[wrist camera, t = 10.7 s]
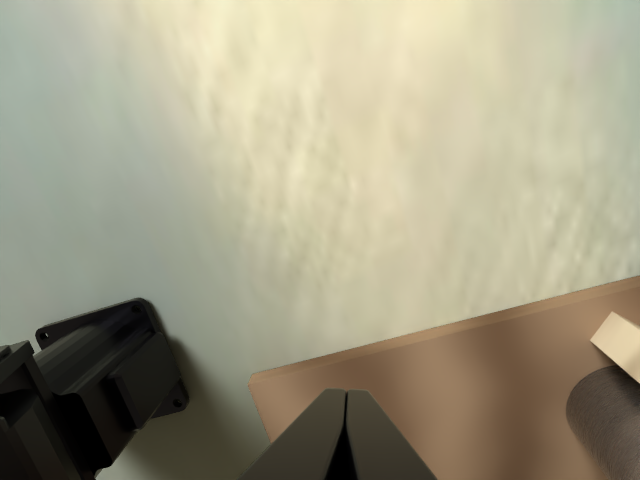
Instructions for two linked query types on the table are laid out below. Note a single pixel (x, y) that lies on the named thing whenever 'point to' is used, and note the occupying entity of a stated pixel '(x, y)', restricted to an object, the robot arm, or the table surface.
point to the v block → (620, 343)
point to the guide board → (473, 386)
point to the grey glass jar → (608, 420)
